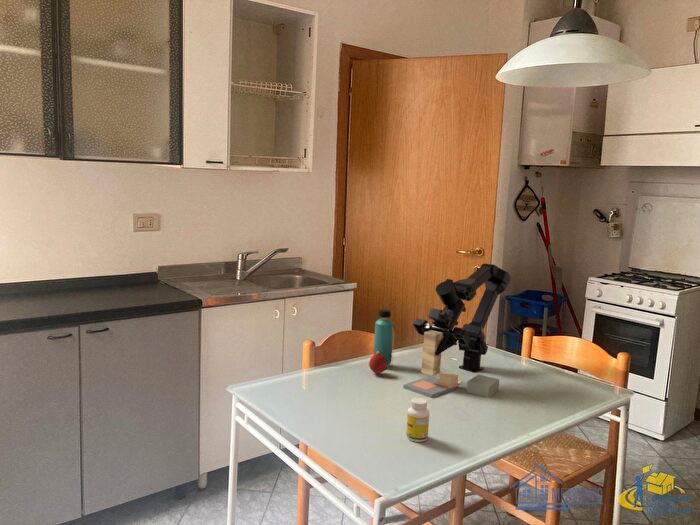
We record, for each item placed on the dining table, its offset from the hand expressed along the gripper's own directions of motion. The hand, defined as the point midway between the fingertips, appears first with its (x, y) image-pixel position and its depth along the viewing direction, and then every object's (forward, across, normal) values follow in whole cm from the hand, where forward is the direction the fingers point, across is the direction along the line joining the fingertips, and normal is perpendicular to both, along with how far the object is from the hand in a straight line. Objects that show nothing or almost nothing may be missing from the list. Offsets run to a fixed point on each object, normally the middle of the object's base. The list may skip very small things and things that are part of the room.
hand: (429, 353), depth 183 cm
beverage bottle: (+4, -22, +12) cm, 26 cm away
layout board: (+8, +1, +8) cm, 11 cm away
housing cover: (0, +14, +15) cm, 21 cm away
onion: (+10, -18, +6) cm, 21 cm away
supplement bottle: (+32, +19, -16) cm, 40 cm away
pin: (+4, 0, +6) cm, 7 cm away
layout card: (0, +2, +15) cm, 15 cm away
